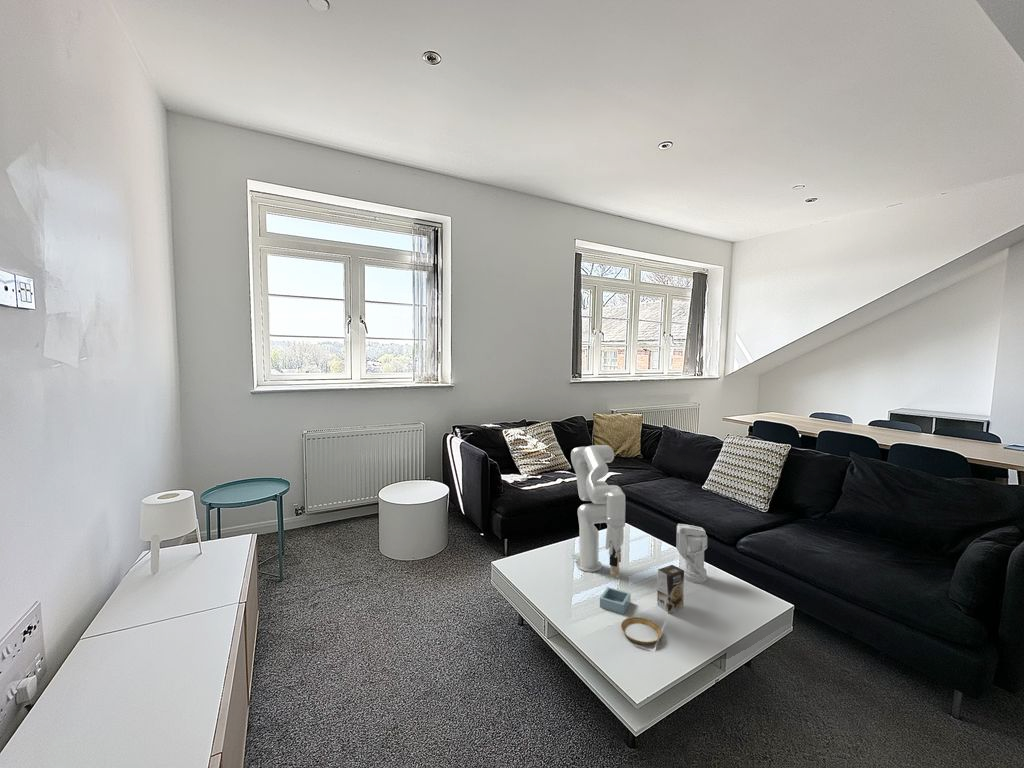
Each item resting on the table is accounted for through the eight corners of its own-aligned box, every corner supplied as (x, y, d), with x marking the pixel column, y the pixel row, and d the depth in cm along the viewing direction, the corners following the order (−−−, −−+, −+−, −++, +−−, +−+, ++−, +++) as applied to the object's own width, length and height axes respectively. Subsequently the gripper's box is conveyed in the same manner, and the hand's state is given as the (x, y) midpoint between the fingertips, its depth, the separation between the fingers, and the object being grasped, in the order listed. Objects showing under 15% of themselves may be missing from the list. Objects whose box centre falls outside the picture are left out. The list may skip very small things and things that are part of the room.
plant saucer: (634, 618, 167) (634, 612, 167) (669, 636, 156) (669, 629, 156) (613, 634, 157) (613, 627, 157) (648, 654, 146) (648, 647, 146)
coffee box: (668, 614, 169) (669, 575, 168) (656, 606, 175) (656, 568, 174) (684, 608, 173) (684, 570, 172) (671, 600, 179) (672, 563, 178)
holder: (599, 608, 173) (599, 598, 173) (607, 596, 182) (607, 586, 182) (623, 616, 168) (623, 605, 168) (630, 603, 177) (630, 593, 176)
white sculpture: (702, 572, 202) (703, 522, 200) (709, 584, 191) (710, 531, 190) (674, 571, 203) (675, 521, 202) (680, 582, 193) (681, 530, 192)
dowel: (609, 575, 174) (609, 548, 173) (612, 571, 177) (612, 544, 177) (617, 578, 172) (618, 550, 172) (620, 574, 175) (620, 546, 175)
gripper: (613, 512, 182) (612, 553, 184) (600, 526, 168) (599, 569, 169) (630, 516, 178) (629, 557, 180) (618, 530, 164) (617, 575, 166)
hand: (615, 563), depth 175 cm, fingers closed on dowel, 3 cm apart
